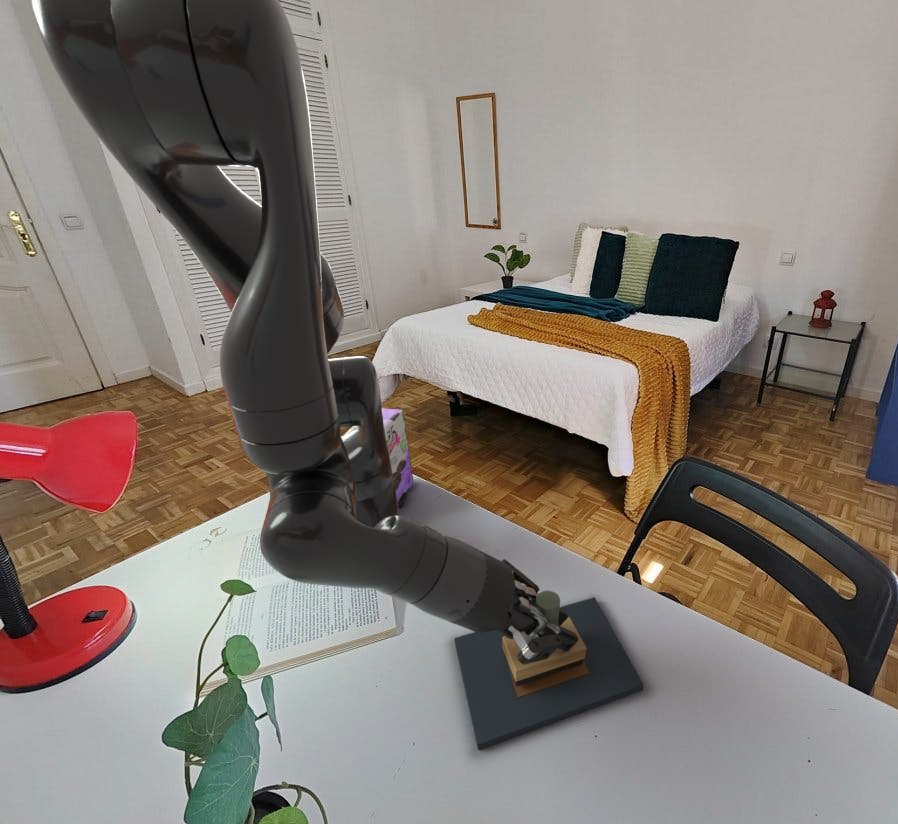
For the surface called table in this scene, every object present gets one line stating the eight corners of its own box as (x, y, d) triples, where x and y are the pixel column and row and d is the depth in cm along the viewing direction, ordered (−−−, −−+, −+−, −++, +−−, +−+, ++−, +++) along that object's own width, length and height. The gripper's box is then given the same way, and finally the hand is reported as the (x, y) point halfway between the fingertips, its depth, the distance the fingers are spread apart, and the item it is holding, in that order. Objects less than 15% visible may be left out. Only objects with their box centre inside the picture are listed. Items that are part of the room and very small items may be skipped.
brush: (501, 653, 61) (503, 593, 57) (567, 633, 64) (574, 575, 60) (515, 689, 57) (518, 627, 53) (584, 665, 60) (592, 605, 56)
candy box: (379, 529, 84) (363, 447, 77) (348, 525, 85) (329, 443, 78) (415, 483, 96) (404, 408, 89) (387, 480, 97) (374, 405, 90)
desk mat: (454, 643, 64) (454, 637, 64) (594, 601, 70) (594, 596, 70) (477, 750, 53) (477, 744, 52) (643, 689, 59) (644, 683, 58)
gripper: (500, 609, 45) (614, 658, 54) (469, 515, 56) (567, 569, 66) (446, 665, 45) (567, 704, 55) (427, 561, 57) (529, 608, 66)
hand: (567, 630), depth 60 cm, fingers closed on brush, 3 cm apart
